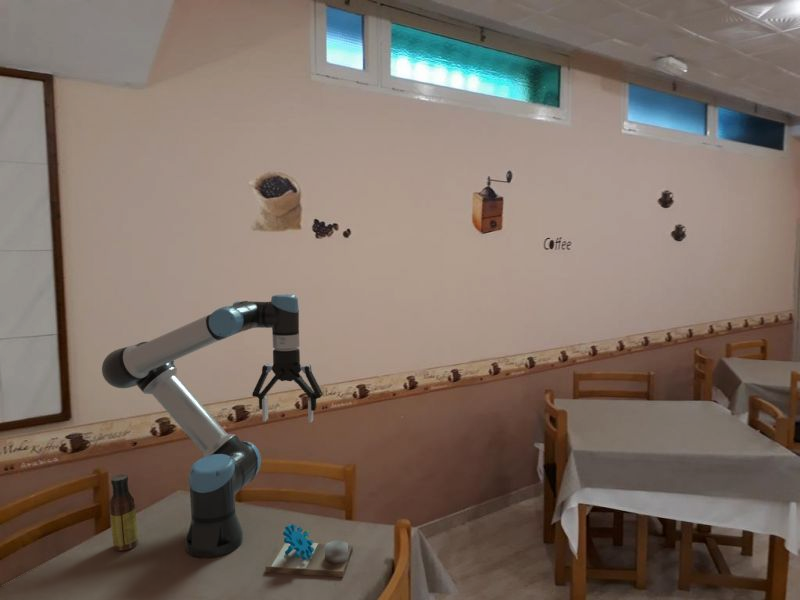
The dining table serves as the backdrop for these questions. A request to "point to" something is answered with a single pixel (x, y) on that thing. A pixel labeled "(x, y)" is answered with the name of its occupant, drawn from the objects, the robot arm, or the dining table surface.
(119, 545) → the sauce bottle
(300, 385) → the robot arm
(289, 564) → the wooden board
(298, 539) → the gear
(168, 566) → the dining table surface
